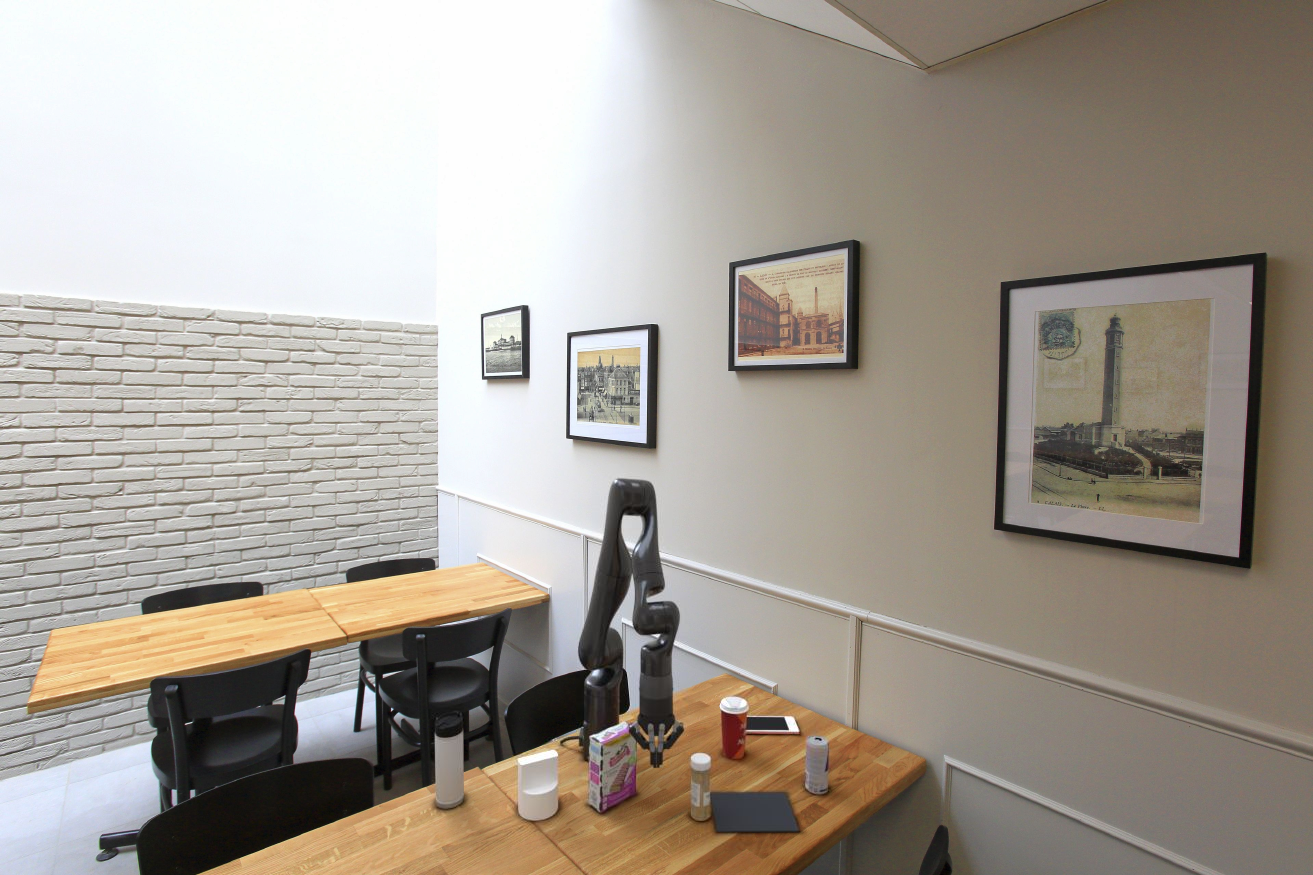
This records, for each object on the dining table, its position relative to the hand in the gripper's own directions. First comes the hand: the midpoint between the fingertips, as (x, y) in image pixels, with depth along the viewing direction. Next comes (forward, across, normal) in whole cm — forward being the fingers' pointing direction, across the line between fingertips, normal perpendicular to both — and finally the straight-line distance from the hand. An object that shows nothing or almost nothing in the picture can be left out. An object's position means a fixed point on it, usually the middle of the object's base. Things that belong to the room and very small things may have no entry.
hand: (656, 765), depth 146 cm
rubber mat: (+12, -22, -1) cm, 25 cm away
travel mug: (+12, +48, -6) cm, 50 cm away
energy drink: (+12, -39, -10) cm, 42 cm away
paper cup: (+12, -21, -26) cm, 36 cm away
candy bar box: (+12, +10, -6) cm, 17 cm away
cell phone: (+12, -32, -40) cm, 53 cm away
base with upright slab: (+12, +27, -3) cm, 30 cm away
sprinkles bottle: (+12, -10, 0) cm, 15 cm away
